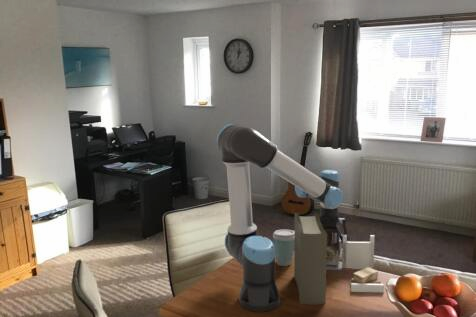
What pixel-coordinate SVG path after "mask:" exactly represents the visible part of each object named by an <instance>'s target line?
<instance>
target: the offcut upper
mask: <svg viewBox="0 0 476 317" xmlns="http://www.w3.org/2000/svg"><path fill="white" fill-rule="evenodd" d="M378 277H379V271H378V270H376V269H374V268H373V269H372V268H370V267H367V268H365V269H359V270H358V271H356V272H353V277H352V278H353V280H355V281H357V282H359V283H367V282H369V281H372V280H374V279H376V278H377V279H378Z"/></svg>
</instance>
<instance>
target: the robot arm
mask: <svg viewBox="0 0 476 317" xmlns="http://www.w3.org/2000/svg"><path fill="white" fill-rule="evenodd" d="M216 145H217V147H218V150H220V152H221V162H222V163H223V164H224V165H225V166H226V175H227V187H228V188H227V190H228V200H229V201H228V203H229V204H228V205H229V216H230V225H229V226H228V227H227V234H225V238H224V247H225V249H226V251H227V253H228V254H229V255H230V256H231V257H232V258H233V259H234V260H235V261H236V262H238V263H239V264H240V265H241V266H242V277H243V278H242V279H243V282H242V285H241V287H240V291H239V294H238V295H239V296H238V297H239V298H238V301H239V302H238V303H239V304H240V306H241V307H242V308H244V309H246V310H247V311H248V310H249V311H251V312H259V313H260V312H261V313H262V312H270V311H272V310H274V309H275V308H277V307H279V305H280V302H281V296H280V292H279V288H278V286H277V283H276V278H275V277H276V254H275V246H274V241H272V240H271V239H270V238H268V237H266V236H264V237H263V236H262V235H258V226H257V225H256V223H254V222H253V220H254V219H253V206H252V203H253V202H252V192H251V191H252V190H251V189H252V188H251V175H250V174H251V173H250V172H251V171H250V170H251V169H250V163H252V164H253V165H256V166H258V167H259V168H261V169H268V170H269V171H270V172H272V173H274V174H275V175H277V176H279V177H280V178H282V179H284V180H285V181H287V182H288V183H290V184H291V185H294V192H295V195H296V196H297V197H298V198H301V199H302V198H303V199H304V198H305V199H306V198H310V199H312V200H314V201H317V202H319V203H320V207H319V210H320V211H319V219H320V222H321V224H322V227H323V228H328V227H330V228H333V227H334V229H338V228H337V226H336V225H337V224H338V223H339V222H340V224H341V227H342V231H343V234H341V231H340V230H339V258H342V240H343V235H347V242H350V238H349V235H348V231H347V226H346V221H347V220H346V219H345V217H342V218H341V217H339V206H340V205H341V204H342V202H343V199H344V193H343V191H342V189H340V174H339V172H338V171H337V170H333V169H324V170H322V171H321V172H320V176H318V175H317V174H315V173H314V172H311V171H310V170H309V169H307V168H306V167H304V166H303V165H301V164H300V163H298V162H297V161H295V160H294V159H293V158H291V157H289V156H288V155H286V154H285V153H283V152H282V151H280V150H279V149H278V146H277V144H275V143H273V141H270V140H269V139H268V138H267V137H266V136H264V135H263V134H262V133H260V132H259V131H258V130H256V129H254V128H252V127H250V126H249V127H248V126H244V125H241V124H237V123H236V124H235V123H231V124H226V125H224V127H222V128H221V129H220V131H218V133H217V136H216Z"/></svg>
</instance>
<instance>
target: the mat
mask: <svg viewBox="0 0 476 317" xmlns="http://www.w3.org/2000/svg"><path fill="white" fill-rule="evenodd" d="M326 271H342V265H341V263H340V262H339V266H337V265H326Z"/></svg>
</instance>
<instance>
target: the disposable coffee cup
mask: <svg viewBox="0 0 476 317" xmlns="http://www.w3.org/2000/svg"><path fill="white" fill-rule="evenodd" d="M272 238H273V244H274V248H275V262H276V263H277V265H278V266H282V267H288V265H289V266H290V265H292V262H293V257H294V254H295V230H291V229H283V228H282V229H277V230H275V231H274V232H273V233H272Z"/></svg>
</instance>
